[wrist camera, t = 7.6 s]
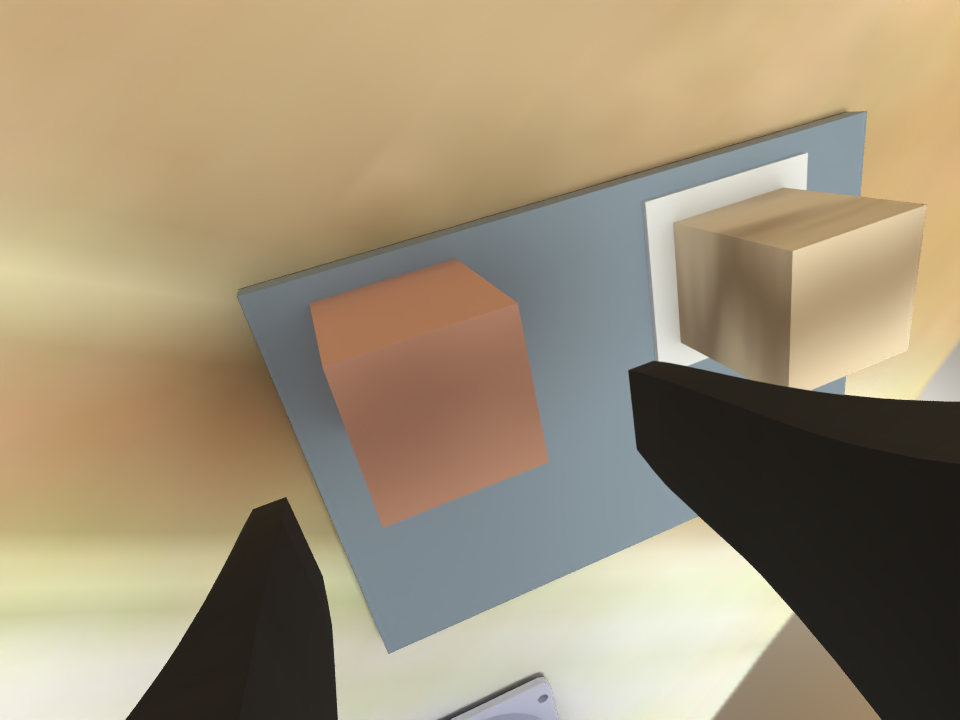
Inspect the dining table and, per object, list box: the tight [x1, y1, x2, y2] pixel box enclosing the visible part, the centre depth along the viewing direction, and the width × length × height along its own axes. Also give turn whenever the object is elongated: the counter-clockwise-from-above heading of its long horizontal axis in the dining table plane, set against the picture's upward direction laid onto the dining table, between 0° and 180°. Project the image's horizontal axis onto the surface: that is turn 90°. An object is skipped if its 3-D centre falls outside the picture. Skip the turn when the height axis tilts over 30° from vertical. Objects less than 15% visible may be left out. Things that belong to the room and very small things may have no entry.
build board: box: [237, 111, 867, 654], centre depth 21 cm, size 15×22×1 cm
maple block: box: [673, 187, 927, 390], centre depth 18 cm, size 4×4×5 cm
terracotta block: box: [309, 258, 549, 528], centre depth 16 cm, size 4×4×5 cm
